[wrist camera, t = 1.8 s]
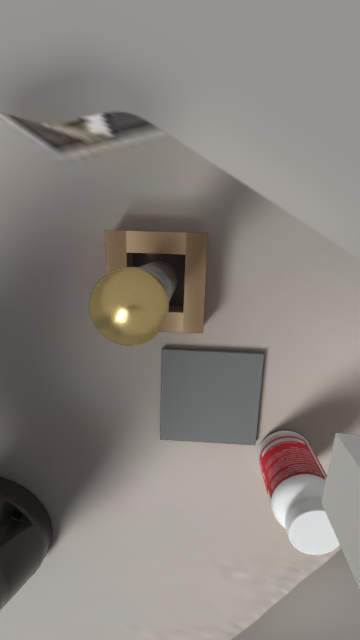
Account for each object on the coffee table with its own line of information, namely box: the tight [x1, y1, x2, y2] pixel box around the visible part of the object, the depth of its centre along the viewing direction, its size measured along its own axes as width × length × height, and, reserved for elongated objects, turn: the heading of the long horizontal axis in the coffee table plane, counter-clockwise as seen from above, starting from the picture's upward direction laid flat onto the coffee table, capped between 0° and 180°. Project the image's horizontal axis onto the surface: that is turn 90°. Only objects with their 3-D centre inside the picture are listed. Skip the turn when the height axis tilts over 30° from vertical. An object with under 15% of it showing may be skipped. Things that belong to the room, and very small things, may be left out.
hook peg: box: [89, 261, 178, 346], centre depth 27 cm, size 5×5×16 cm
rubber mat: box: [160, 348, 264, 445], centre depth 37 cm, size 11×11×1 cm
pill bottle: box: [258, 431, 340, 555], centre depth 33 cm, size 6×6×11 cm
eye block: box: [105, 230, 208, 333], centre depth 33 cm, size 10×10×3 cm
